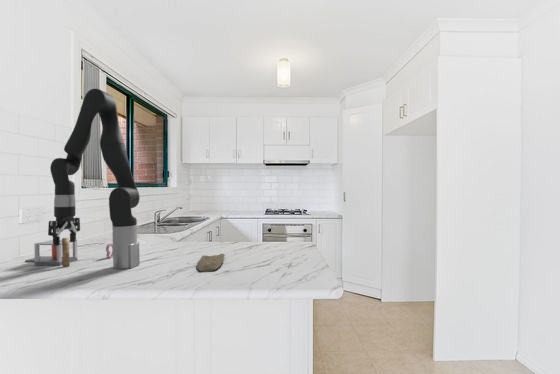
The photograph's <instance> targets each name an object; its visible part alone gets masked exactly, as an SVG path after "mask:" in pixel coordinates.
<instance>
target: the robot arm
mask: <svg viewBox="0 0 560 374" xmlns="http://www.w3.org/2000/svg"><path fill="white" fill-rule="evenodd" d="M78 113H79V114H78V116H77V119H76V122H75V125H74V127H73V130H72V132H71V134H70V136H69V138H68V140H67V142H66V143H65V145H64V147H63V151H64V152H65V153H66V158H65V157H64V158H63V157H57V158H55V159H53V160H52V162H51V163H50V173H51V174H50V175H51V178H52V180H53V184H54V199H53V216H54V217H55V220H49V221H48V229H47V232H48V233H47V235H48V236H51V237H52V240H53V244H54V246H58V245H60V240H61V238H60V237H61V236H60V235H61V233H62V232H64V231H65V230H68V231H69V240H70V242H71V243H73V242H75V241H76V240H77V232H81V218H80V217H75V216H76V192H75V191H76V190H75V189H76V188H75V187H76V186H75V185H76V184H75V182H73V181H72V180H70V179H69V176H73V175H75V174H76V173H77V172H78V171H79V169H80V167H81V163H82V159H83V154H84V153H85V151H86V148H87V147H88V145H89V143H90V140H91V133H92V125H93V122H94V120H95V117H96V116H97V115H99V118H100V119H99V120H100V122H101V126H102V130H101V134H100V139H99V145H100V151H101V154H102V159H103V161H104V163H105V165H106V166H107V168H108V169H109V170H110V172H111V173H112V174H113V176H114V177H115V180H116V183H117V187H115V188H114V189H112V190H111V191H110V194H109V196H108V197H109V198H108V207H109V208H108V209H109V218H110V221H111V222H112V223H111V225H112V244H113V257H112V268H113V269H115V270H120V269H121V270H125V269H132V268H135V267H137V266H139V265H140V264H141V263H140V243H139V241H138V231H137V230H138V225H137V224H138V222H137V218H136V217H135V216H133V214H132V209H133V208H136V207H137V206H138V205H139V203H140V193H139V190H138V187H137V184H136V182H135V180H134V176H133V173H132V169H131V166H130V161H129V157H128V154H127V148H126V145H125V140H124V139H123V138H124V137H123V135H122V129H121V126H120V122H119V121H120V120H119V116H118V107H117V103H116V100H115V98H114V97H113V95H111V94H110V93H108V92H105V91H103V90H102V89H99V88H92V89H90V90H88V91H87V92H86V93H85V96H84V98H83V101H82V104H81V107H80V110H79V112H78Z"/></svg>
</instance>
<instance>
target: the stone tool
mask: <svg viewBox="0 0 560 374" xmlns="http://www.w3.org/2000/svg"><path fill="white" fill-rule="evenodd" d="M224 260H225V254H224V253H220V254H216V255H205V254H204V255H201V258H200V259H199V260H198V262H197V263H196V265H195V266H196V268H197V270H198V271H200V272H202V273H204V272H207V273H208V272H213V271H215V270H217V269H219V268H220V267H221V266H222V264H223V263H224Z"/></svg>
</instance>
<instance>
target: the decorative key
mask: <svg viewBox="0 0 560 374" xmlns="http://www.w3.org/2000/svg"><path fill="white" fill-rule="evenodd" d="M110 247H111V249H112V250H111V251H112V252H111V251H110ZM105 252H106V258H107V259H113V243H108V244H106V247H105Z"/></svg>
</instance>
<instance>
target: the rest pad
mask: <svg viewBox="0 0 560 374" xmlns="http://www.w3.org/2000/svg"><path fill="white" fill-rule="evenodd" d="M51 257H52V255H51V256H47V255H46V256H45V255H44V256H43V255H41V256H40V260H43V259H47V258H51ZM24 262H25V263H35V257H32V258H29V259H24Z"/></svg>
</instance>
